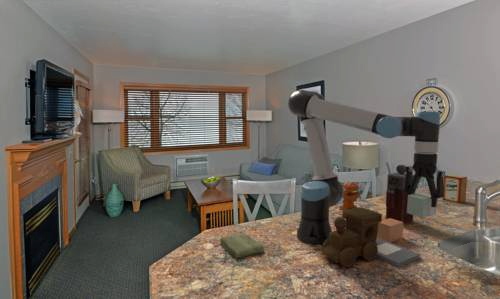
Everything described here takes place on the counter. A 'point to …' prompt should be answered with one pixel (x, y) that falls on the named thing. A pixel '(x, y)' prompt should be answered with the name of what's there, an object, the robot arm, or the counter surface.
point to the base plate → (395, 253)
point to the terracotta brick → (390, 230)
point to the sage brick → (419, 204)
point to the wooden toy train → (353, 236)
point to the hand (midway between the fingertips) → (421, 212)
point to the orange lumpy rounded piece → (349, 196)
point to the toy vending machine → (397, 196)
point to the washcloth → (241, 245)
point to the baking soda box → (455, 188)
